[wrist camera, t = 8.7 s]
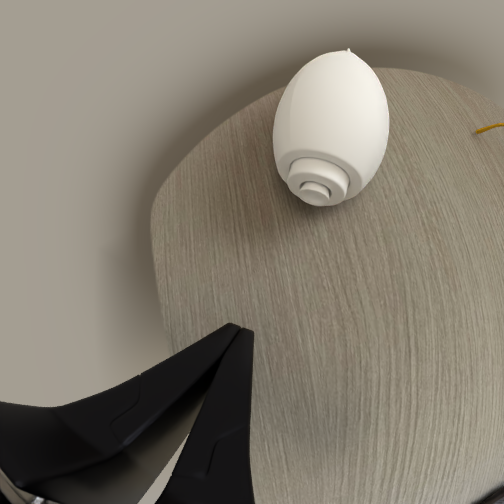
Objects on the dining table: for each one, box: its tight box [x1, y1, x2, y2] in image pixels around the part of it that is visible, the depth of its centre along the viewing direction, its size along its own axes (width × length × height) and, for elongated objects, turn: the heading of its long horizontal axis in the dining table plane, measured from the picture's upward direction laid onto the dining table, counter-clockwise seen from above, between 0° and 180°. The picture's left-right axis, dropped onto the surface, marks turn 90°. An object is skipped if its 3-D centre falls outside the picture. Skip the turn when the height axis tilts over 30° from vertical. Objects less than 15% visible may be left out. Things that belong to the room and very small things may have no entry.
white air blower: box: [273, 49, 389, 206], centre depth 17 cm, size 8×8×18 cm
